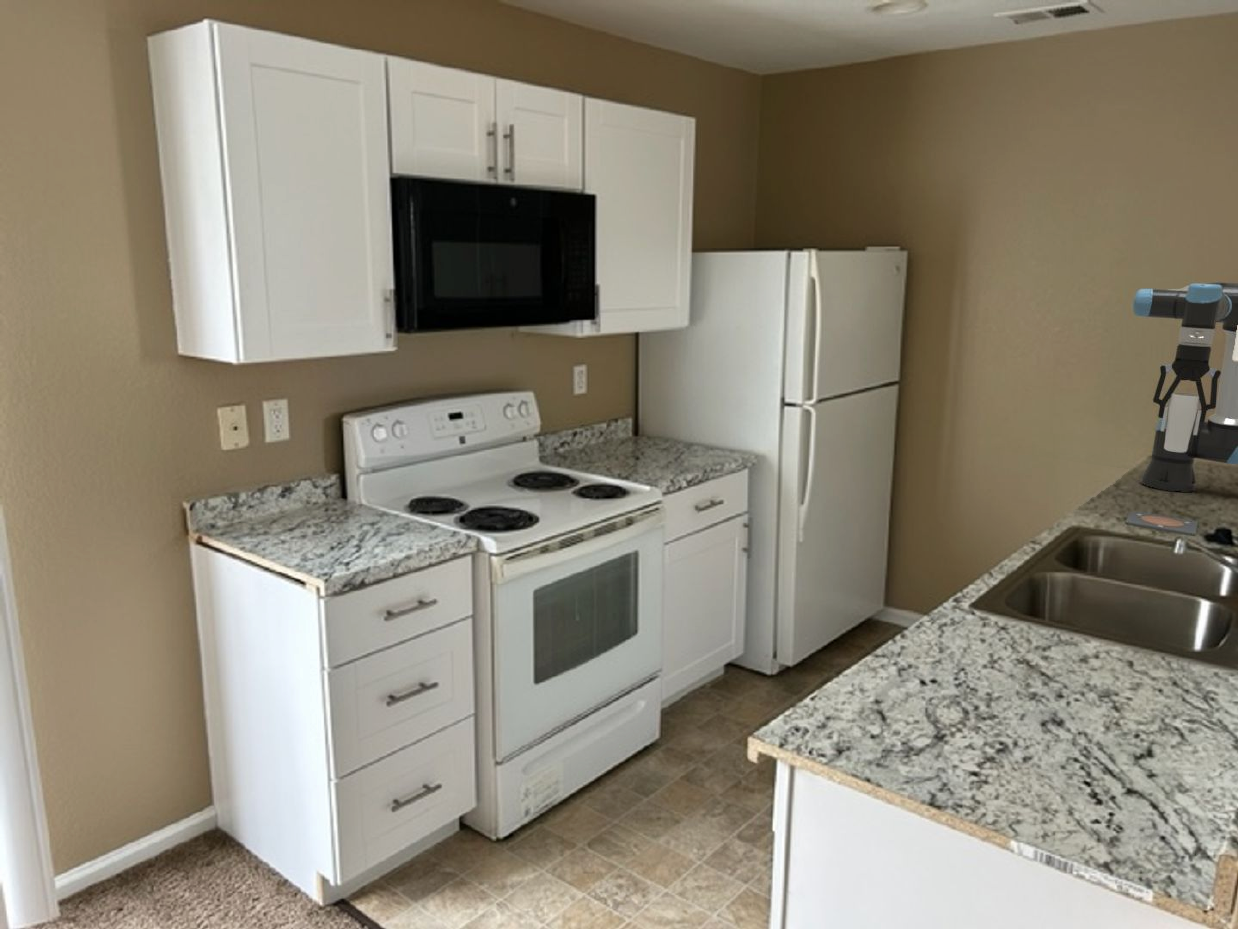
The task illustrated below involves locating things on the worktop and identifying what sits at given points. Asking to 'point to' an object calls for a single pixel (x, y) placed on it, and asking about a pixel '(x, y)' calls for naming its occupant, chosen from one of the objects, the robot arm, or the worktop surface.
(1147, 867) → the worktop surface
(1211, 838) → the worktop surface
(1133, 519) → the coaster mat
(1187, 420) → the drinking glass
